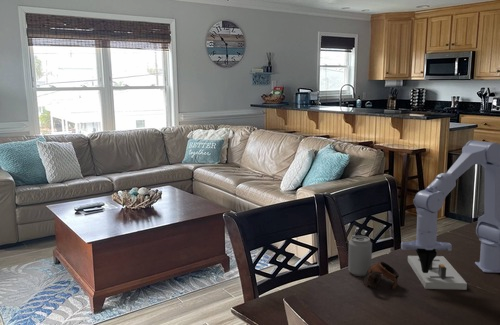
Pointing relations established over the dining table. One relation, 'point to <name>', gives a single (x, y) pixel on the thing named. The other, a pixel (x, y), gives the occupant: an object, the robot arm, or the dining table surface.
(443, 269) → the handle
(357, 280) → the dining table surface
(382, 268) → the pottery mug
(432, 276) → the breaker panel
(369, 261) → the can
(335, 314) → the dining table surface
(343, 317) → the dining table surface
